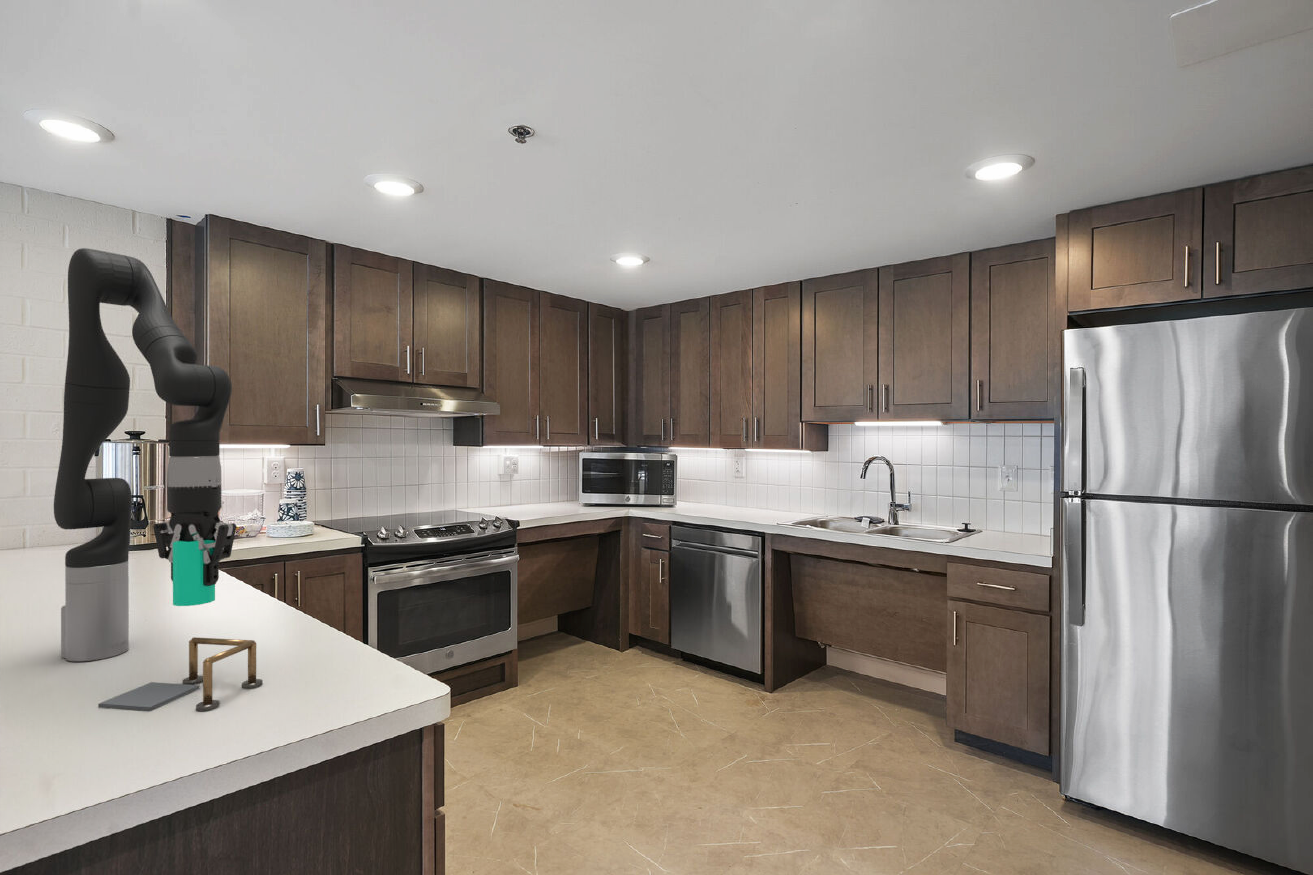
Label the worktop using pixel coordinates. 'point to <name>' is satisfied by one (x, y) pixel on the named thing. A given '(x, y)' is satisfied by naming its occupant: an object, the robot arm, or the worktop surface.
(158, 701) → the coaster
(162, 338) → the robot arm
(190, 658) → the handrail
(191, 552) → the candle
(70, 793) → the worktop surface
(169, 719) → the worktop surface
